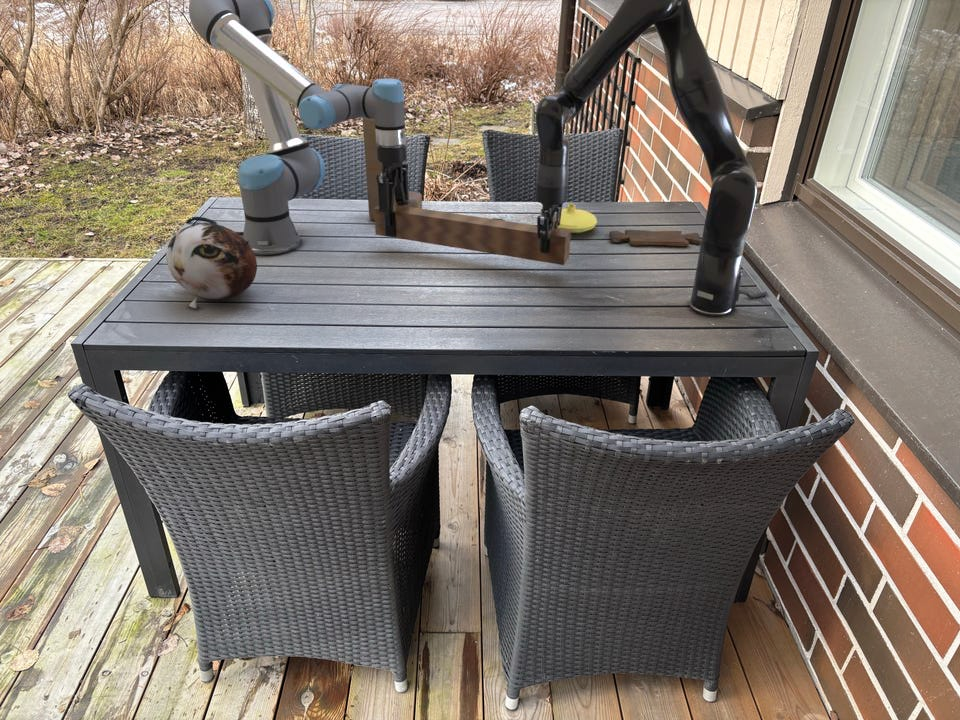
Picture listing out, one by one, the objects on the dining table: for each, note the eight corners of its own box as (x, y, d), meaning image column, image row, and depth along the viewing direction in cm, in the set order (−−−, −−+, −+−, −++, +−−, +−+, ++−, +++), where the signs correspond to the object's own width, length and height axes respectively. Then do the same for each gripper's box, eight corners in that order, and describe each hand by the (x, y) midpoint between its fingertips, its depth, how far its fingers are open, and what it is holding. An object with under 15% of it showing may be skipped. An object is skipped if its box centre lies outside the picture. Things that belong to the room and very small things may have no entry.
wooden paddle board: (704, 248, 200) (696, 236, 208) (705, 243, 199) (697, 230, 207) (612, 245, 200) (607, 232, 208) (612, 239, 199) (608, 227, 208)
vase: (559, 216, 220) (561, 193, 217) (605, 227, 212) (608, 204, 209) (532, 230, 209) (533, 207, 206) (580, 242, 201) (582, 218, 198)
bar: (375, 234, 192) (373, 208, 189) (384, 228, 196) (382, 202, 193) (563, 265, 176) (565, 237, 173) (569, 258, 180) (571, 230, 177)
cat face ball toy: (130, 285, 161) (164, 203, 163) (192, 308, 177) (221, 233, 178) (195, 307, 151) (229, 220, 152) (254, 330, 166) (285, 250, 168)
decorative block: (417, 223, 213) (414, 119, 198) (368, 220, 215) (361, 117, 199) (422, 214, 220) (419, 113, 204) (375, 212, 221) (368, 111, 206)
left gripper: (387, 154, 172) (392, 245, 184) (420, 138, 187) (422, 223, 199) (360, 151, 175) (367, 241, 187) (394, 135, 189) (398, 219, 201)
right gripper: (559, 192, 163) (554, 261, 172) (575, 175, 175) (569, 241, 183) (527, 188, 165) (524, 256, 174) (545, 171, 177) (541, 237, 185)
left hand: (395, 232), depth 193 cm, fingers closed on bar, 5 cm apart
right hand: (547, 248), depth 179 cm, fingers closed on bar, 5 cm apart
